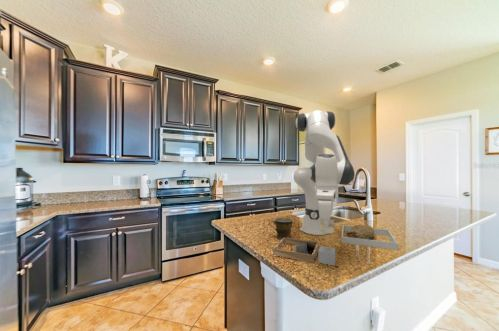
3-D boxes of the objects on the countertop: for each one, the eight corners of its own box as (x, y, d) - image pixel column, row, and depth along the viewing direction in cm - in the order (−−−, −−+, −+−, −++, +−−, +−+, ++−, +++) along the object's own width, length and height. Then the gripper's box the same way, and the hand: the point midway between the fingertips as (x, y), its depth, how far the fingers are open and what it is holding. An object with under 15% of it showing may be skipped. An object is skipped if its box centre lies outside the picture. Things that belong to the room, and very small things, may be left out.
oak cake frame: (283, 243, 109) (283, 237, 109) (318, 248, 102) (318, 242, 102) (272, 256, 93) (272, 249, 93) (313, 263, 86) (313, 255, 86)
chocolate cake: (302, 249, 103) (291, 235, 97) (316, 247, 99) (305, 233, 94) (302, 268, 96) (290, 255, 90) (317, 267, 92) (306, 254, 87)
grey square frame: (342, 230, 132) (342, 225, 132) (388, 235, 121) (388, 229, 122) (341, 242, 110) (341, 236, 110) (397, 249, 100) (397, 243, 100)
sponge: (363, 247, 107) (384, 232, 117) (359, 232, 107) (380, 219, 117) (341, 244, 118) (362, 231, 128) (337, 230, 119) (358, 218, 129)
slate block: (320, 257, 91) (320, 245, 91) (335, 260, 89) (335, 248, 89) (318, 263, 86) (318, 250, 86) (334, 266, 83) (334, 253, 83)
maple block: (321, 228, 91) (321, 216, 91) (334, 229, 89) (334, 217, 89) (320, 231, 86) (320, 219, 86) (333, 232, 84) (333, 220, 84)
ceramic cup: (291, 235, 122) (291, 217, 123) (293, 241, 113) (293, 222, 113) (269, 234, 124) (269, 217, 124) (269, 240, 114) (269, 221, 114)
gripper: (321, 190, 98) (321, 220, 98) (315, 195, 80) (316, 232, 80) (336, 191, 96) (336, 221, 96) (333, 195, 77) (334, 234, 77)
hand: (327, 226), depth 87 cm, fingers closed on maple block, 5 cm apart
